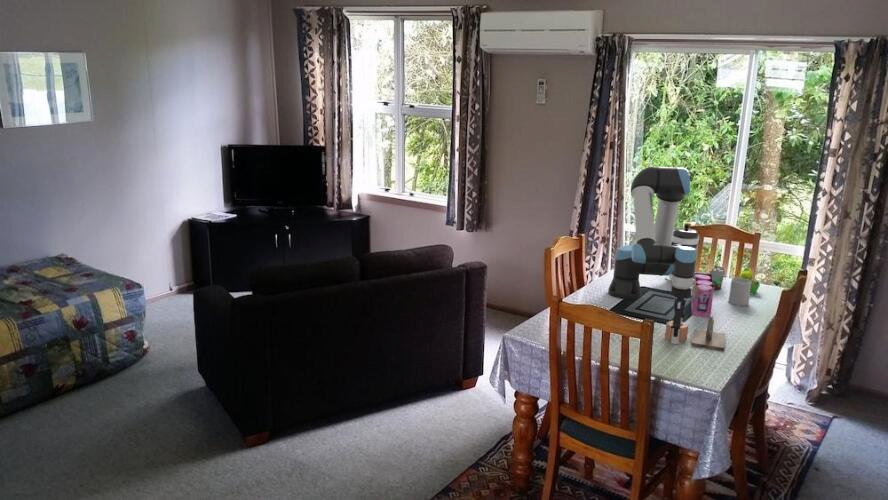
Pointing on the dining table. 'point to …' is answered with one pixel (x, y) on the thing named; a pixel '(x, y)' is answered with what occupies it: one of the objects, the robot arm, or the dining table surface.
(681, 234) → the coffee press
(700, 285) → the gum box
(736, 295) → the mug
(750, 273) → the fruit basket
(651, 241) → the robot arm
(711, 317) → the peg board
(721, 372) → the dining table surface
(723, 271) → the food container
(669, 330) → the hex nut
